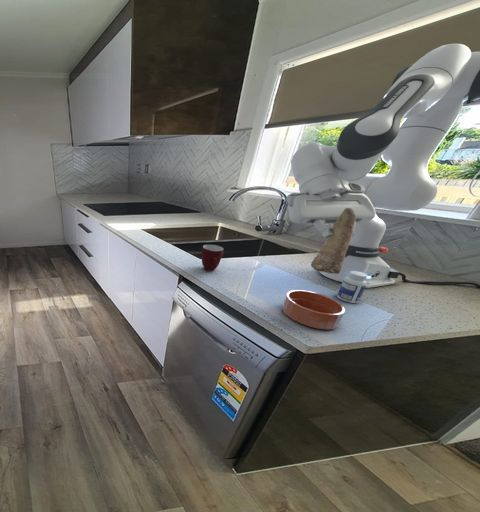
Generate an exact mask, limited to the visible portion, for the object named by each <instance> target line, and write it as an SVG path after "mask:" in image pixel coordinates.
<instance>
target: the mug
mask: <svg viewBox="0 0 480 512" xmlns="http://www.w3.org/2000/svg"><path fill="white" fill-rule="evenodd" d="M224 249H225V248H224V247H222V246H220V245H217V244H204V245H202V249H201V264H202V266H203V269H204V270H205V271H207V272H214V271H215V270H216V269H217V268H218V267H219V265H220V262H221V260H222V258H223V255H224Z"/></svg>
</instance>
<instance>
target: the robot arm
mask: <svg viewBox="0 0 480 512" xmlns="http://www.w3.org/2000/svg"><path fill="white" fill-rule="evenodd" d="M479 99H480V51H471V49H470V47H469V46H467V45H465V44H462V43H449V44H444V45H441V46H438V47H436V48H434V49H431V50H430V51H429V52H427V53H426V54H424V55H423V56H422V57H420V58H419V59H418V60H416V61H415V62H413V63H411V64H409V65H407V66H405V67H404V68H402V69H401V70H400V71H399V72H398V73H397V74H396V76H395V77H394V79H393V81H392V83H391V85H390V88H389V89H388V90H387V91H386V93H385V95H384V96H383V98H382V99H381V100H380V101H379V102H378V103H377V104H376V105H375V106H374V107H372V108H371V110H369V111H368V112H366V113H364V114H363V115H362V116H359V117H358V118H356V119H355V120H352V121H351V122H350V123H348V124H347V125H346V126H344V128H343V129H342V130H341V131H340V134H339V136H338V139H337V143H336V145H325V144H323V143H320V142H317V141H313V142H309V143H307V144H305V145H303V146H302V147H300V148H299V149H298V150H296V151H295V153H294V154H293V155H292V157H291V160H290V167H291V171H292V175H293V177H294V180H295V182H296V183H297V184H298V191H299V192H291V193H289V194H288V195H286V198H285V199H286V200H285V201H286V202H287V211H288V216H289V220H290V222H292V223H293V224H295V225H296V224H297V225H301V224H302V225H303V224H304V225H309V224H310V225H313V227H314V228H315V229H316V230H318V231H319V232H320V233H321V235H322V237H323V238H328V237H331V236H333V235H334V232H333V230H332V228H329V226H327V225H334V224H335V222H336V220H337V219H338V217H339V216H340V215H341V214H342V212H343V211H344V210H345V209H346V208H351V209H352V210H353V211H354V213H355V215H356V218H355V222H354V228H353V233H352V236H351V240H350V242H349V246H348V249H347V252H346V255H345V258H344V261H343V264H342V268H341V271H340V273H338V274H335V273H326V272H321V271H318V272H319V273H320V274H321V275H322V276H324V277H326V278H328V279H331V280H334V281H336V282H340V283H342V282H343V279H344V278H345V277H348V276H349V273H350V271H358V272H362V273H365V274H366V275H367V278H366V279H365V281H366V282H367V285H366V287H365V289H370V288H375V287H383V286H390V285H395V284H396V280H395V279H398V277H399V276H401V281H402V282H405V283H411V284H420V285H421V284H430V285H444V284H449V285H450V284H451V285H472V286H474V287H476V288H477V289H480V283H477V282H474V281H453V280H439V281H438V280H417V281H416V280H409V279H407V276H406V274H405V273H402V272H401V271H398V270H397V269H395V268H393V267H390V265H389V264H388V263H387V262H386V261H385V260H383V258H381V257H380V253H382V254H387V253H388V252H389V248H388V247H384V246H379V245H380V243H381V241H382V239H383V238H384V235H385V232H386V230H387V225H386V223H385V222H384V220H383V219H381V218H380V217H378V215H377V211H376V208H377V209H382V210H387V211H400V212H402V211H403V212H404V211H406V212H407V211H409V212H410V211H419V210H421V209H423V208H425V207H426V206H427V205H429V204H430V203H432V202H433V201H434V199H435V198H436V196H437V194H438V185H437V184H436V182H435V181H434V180H433V178H431V177H430V174H429V172H428V166H429V163H430V161H431V158H432V157H433V156H434V154H435V152H436V150H437V149H438V147H439V146H440V145H441V143H442V142H443V140H444V139H445V137H446V136H447V135H448V134H449V132H450V131H451V129H452V128H453V126H454V125H455V122H456V121H457V119H458V117H459V115H460V113H461V112H462V109H463V107H464V102H466V106H468V105H473V104H474V103H475V102H477V101H478V100H479ZM402 119H403V121H402ZM380 159H382V161H383V162H385V164H387V165H389V166H390V168H389V170H388V172H387V173H386V174H379V173H370V172H371V171H372V170H373V169H374V167H375V166H376V165H377V163H378V161H379V160H380Z"/></svg>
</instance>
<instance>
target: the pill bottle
mask: <svg viewBox="0 0 480 512" xmlns="http://www.w3.org/2000/svg"><path fill="white" fill-rule="evenodd" d="M366 278H367V275H366V274H365V273H362V272H358V271H350V273H349V276H348V277H345V278H344V279H343V282H341V284H340V287H339V290H338V292H337V295H336V297H337V298H338V299H339V300H341V301H343V302H346V303H351V304H357V303H359V302H360V300H361V298H362V296H363V293H364V291H365V289H366V288H365V287H366V285H367V282H366V281H365V279H366Z"/></svg>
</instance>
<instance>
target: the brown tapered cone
mask: <svg viewBox="0 0 480 512" xmlns="http://www.w3.org/2000/svg"><path fill="white" fill-rule="evenodd" d="M355 218H356V215H355V213H354V211H353V210H352V209H351V208H346V209H345V210H344V211H343V212H342V214H341V215H340V216H339V217H338V219H337V220H336V222H335V224H333V225H332V228H331V229H332V230H333V232H334V235H333V236H331V237H326V239H325V242H324V243H323V244H322V246H321V249H320V250H319V251H318V253H317V254H316V256H315V257H314V258H313V260H312V261H311V263H310V267H311V268H312V269H313V270H316V271H317V272H319V271H321V272H326V273H335V274H338V273H340V271H341V268H342V264H343V261H344V258H345V255H346V252H347V249H348V246H349V242H350V240H351V236H352V233H353V228H354V222H355Z"/></svg>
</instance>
